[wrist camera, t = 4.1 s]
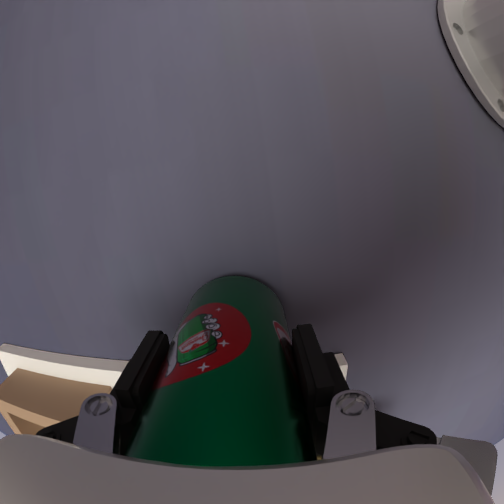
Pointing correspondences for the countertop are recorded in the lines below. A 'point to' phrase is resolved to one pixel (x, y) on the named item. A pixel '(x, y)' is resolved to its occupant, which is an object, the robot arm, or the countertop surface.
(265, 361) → the soda can
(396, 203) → the countertop surface
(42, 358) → the dock
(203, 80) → the countertop surface
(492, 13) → the robot arm
